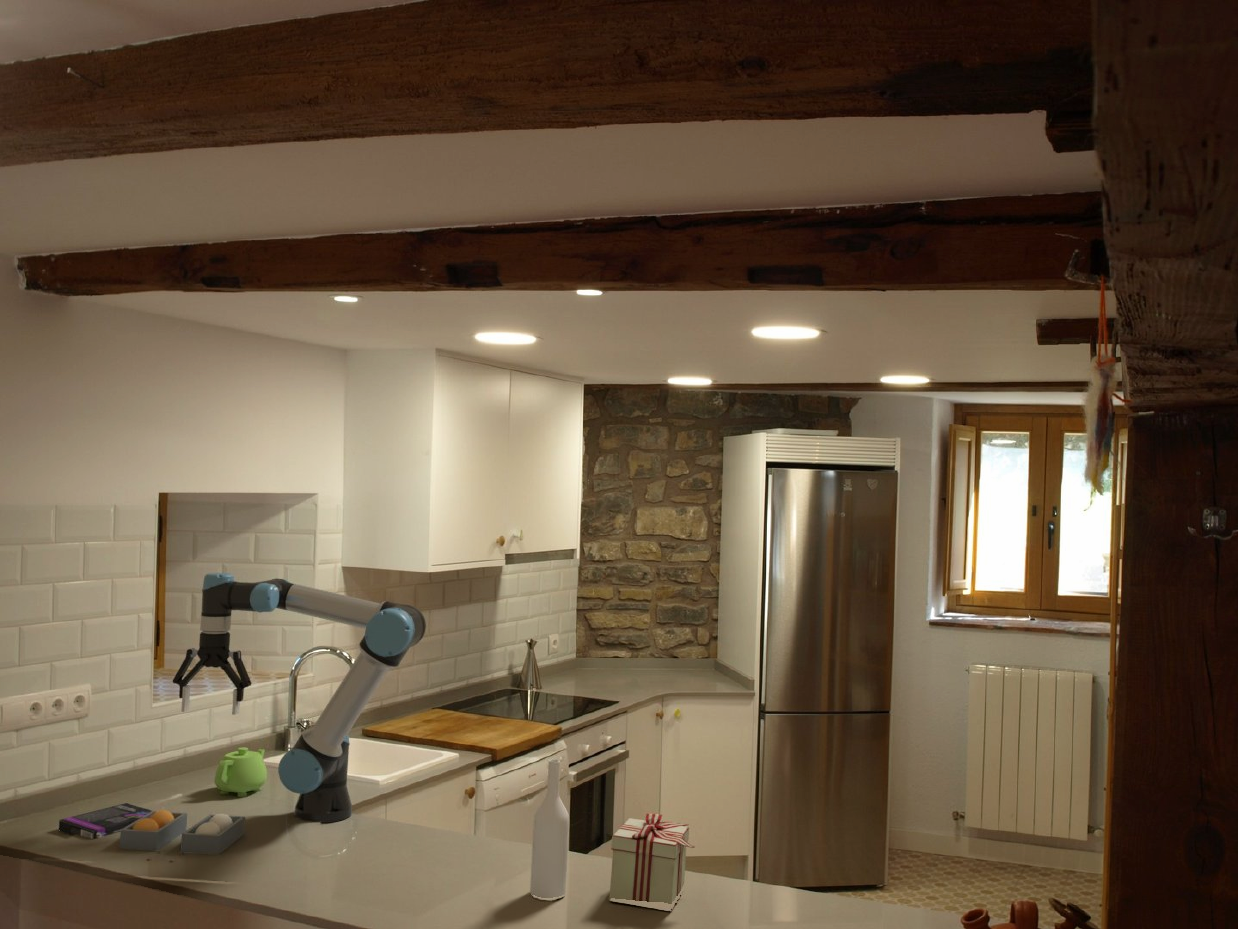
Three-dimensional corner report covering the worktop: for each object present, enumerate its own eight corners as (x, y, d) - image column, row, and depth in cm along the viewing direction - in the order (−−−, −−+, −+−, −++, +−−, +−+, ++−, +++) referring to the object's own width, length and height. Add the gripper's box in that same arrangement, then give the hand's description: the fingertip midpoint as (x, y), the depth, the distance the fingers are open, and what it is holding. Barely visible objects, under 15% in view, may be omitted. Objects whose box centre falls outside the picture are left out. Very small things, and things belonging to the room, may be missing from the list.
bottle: (536, 903, 231) (543, 766, 232) (525, 890, 238) (531, 757, 239) (570, 899, 234) (577, 764, 235) (558, 886, 241) (564, 755, 242)
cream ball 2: (235, 835, 264) (237, 811, 264) (226, 843, 258) (227, 818, 258) (212, 834, 264) (214, 810, 265) (202, 841, 258) (203, 817, 259)
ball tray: (243, 836, 265) (245, 816, 265) (205, 867, 243) (206, 845, 243) (145, 830, 266) (146, 810, 267) (98, 860, 244) (99, 838, 244)
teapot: (243, 780, 316) (245, 738, 316) (281, 786, 312) (283, 743, 312) (197, 797, 297) (200, 752, 297) (237, 803, 293) (240, 758, 293)
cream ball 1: (224, 844, 257) (225, 819, 257) (213, 852, 251) (215, 827, 251) (200, 843, 257) (202, 818, 258) (189, 851, 251) (191, 825, 252)
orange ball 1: (164, 839, 258) (162, 814, 258) (152, 845, 252) (150, 820, 252) (140, 842, 258) (138, 817, 258) (128, 848, 252) (126, 823, 252)
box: (92, 846, 256) (161, 824, 273) (93, 831, 256) (162, 811, 273) (57, 834, 263) (127, 814, 280) (58, 820, 263) (127, 800, 280)
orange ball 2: (177, 831, 265) (179, 808, 265) (166, 839, 259) (168, 815, 259) (154, 830, 265) (156, 806, 265) (143, 838, 259) (144, 813, 259)
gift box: (690, 915, 228) (693, 836, 229) (607, 906, 231) (611, 827, 232) (698, 888, 245) (701, 813, 245) (620, 879, 248) (624, 806, 249)
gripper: (266, 632, 280) (262, 712, 279) (175, 627, 281) (170, 706, 280) (256, 635, 273) (251, 717, 272) (162, 630, 274) (157, 712, 273)
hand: (210, 712), depth 276 cm, fingers open, 13 cm apart
